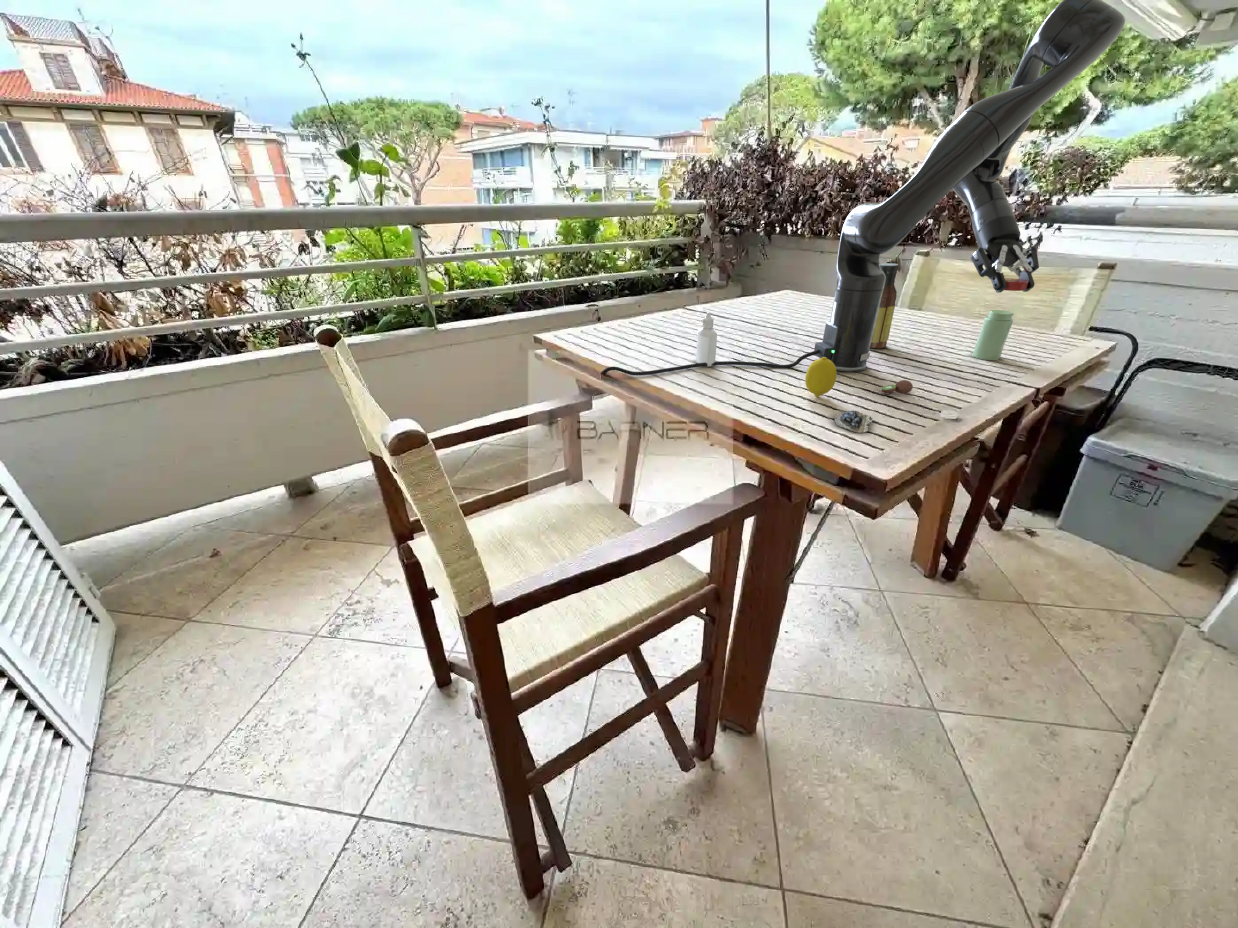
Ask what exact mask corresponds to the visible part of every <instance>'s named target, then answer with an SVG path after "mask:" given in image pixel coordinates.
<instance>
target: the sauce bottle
mask: <svg viewBox="0 0 1238 928" xmlns="http://www.w3.org/2000/svg"><path fill="white" fill-rule="evenodd" d="M880 267H881V269H882V271H883V272H884V273H885V276H886V280H885V285H884V288H883V294H882V298H881V302H880V306H879V311H878V315H877V319H876V323H875V328H874V332H873V336H872V341H871V345H870V349H883V348H886V346H887V345H888V344H887V343H888V340H889V337H890V332H891V326H892V323H893V318H894V313H895V308H896V300H897V294H898V293H897V289H896V286H895V282H896V281H895V279H896V275H897V271H898V270H899V264H898V263H888V262H887V263H881V264H880Z"/></svg>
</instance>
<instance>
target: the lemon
mask: <svg viewBox="0 0 1238 928" xmlns="http://www.w3.org/2000/svg"><path fill="white" fill-rule="evenodd" d="M837 373H838V372H837V370H836V367H835V365H834V363H833V362H832V361H830V360H829V359H827V358H826V357H822V358H821V359H819V358H818V359H815V360H814V361H812V362H811V363H810V364H809V366H808V368H807V370H806V373H805V377H804V378H805V379H804V384H805V387H806V389H807V390H808V391H809V392H810V393H811V394H813V395H814V396H815V397H816V398H819V397H820V396H822V395H826V394H828V393H829V392H830V391H831V390H832V389H833V388H834V386H835V384H836V381H837Z"/></svg>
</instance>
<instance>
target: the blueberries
mask: <svg viewBox="0 0 1238 928" xmlns="http://www.w3.org/2000/svg"><path fill="white" fill-rule="evenodd" d="M833 420H834V422H835V426H836V425H837V426H838V427H840V428H844V429H846V430H849V431H850V432H854V433H857V434H861V433H866V432H868V430H869V426H868V425H871V422H873V417H872V416H870V415H868V414H863V412H860V411H858V410H853V409H852V410H847V411H845V410H838V412H837V413H836V414H835V416H834V419H833Z"/></svg>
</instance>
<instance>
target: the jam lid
mask: <svg viewBox="0 0 1238 928" xmlns="http://www.w3.org/2000/svg"><path fill="white" fill-rule="evenodd" d="M1004 278H1005V281H1006V284H1007V288H1006V289H1005V290H1004V291H1011V292H1023V290H1026V288H1027V285H1028V282H1029V281H1027V280H1023V279H1018V278H1011V277H1010V278H1006V277H1004Z"/></svg>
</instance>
